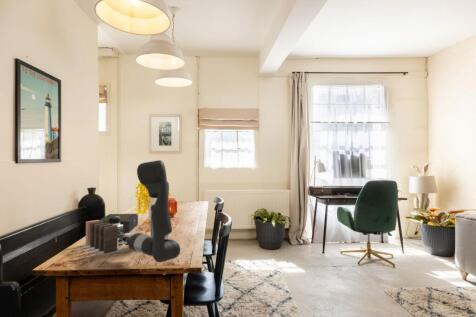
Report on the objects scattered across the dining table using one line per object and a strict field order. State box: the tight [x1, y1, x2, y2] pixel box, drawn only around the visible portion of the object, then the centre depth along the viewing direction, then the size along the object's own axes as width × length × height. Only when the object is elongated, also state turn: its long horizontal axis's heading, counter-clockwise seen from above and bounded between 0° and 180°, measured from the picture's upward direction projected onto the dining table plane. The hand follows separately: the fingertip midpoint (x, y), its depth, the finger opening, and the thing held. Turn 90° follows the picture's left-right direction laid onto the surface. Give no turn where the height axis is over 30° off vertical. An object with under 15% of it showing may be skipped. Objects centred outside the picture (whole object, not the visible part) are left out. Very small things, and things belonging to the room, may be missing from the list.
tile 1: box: [104, 225, 119, 253], centre depth 144 cm, size 2×6×12 cm, turn 140°
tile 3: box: [94, 223, 108, 249], centre depth 150 cm, size 2×6×12 cm, turn 140°
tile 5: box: [85, 219, 100, 246], centre depth 156 cm, size 2×6×12 cm, turn 140°
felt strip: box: [80, 243, 123, 256], centre depth 150 cm, size 24×10×1 cm, turn 50°
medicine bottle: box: [109, 217, 124, 239], centre depth 171 cm, size 7×7×12 cm
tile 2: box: [99, 224, 113, 251], centre depth 147 cm, size 2×6×12 cm, turn 140°
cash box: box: [98, 213, 139, 234], centre depth 194 cm, size 25×20×8 cm
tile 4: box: [90, 221, 103, 248], centre depth 153 cm, size 2×6×12 cm, turn 140°
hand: (121, 236), depth 137 cm, fingers closed
